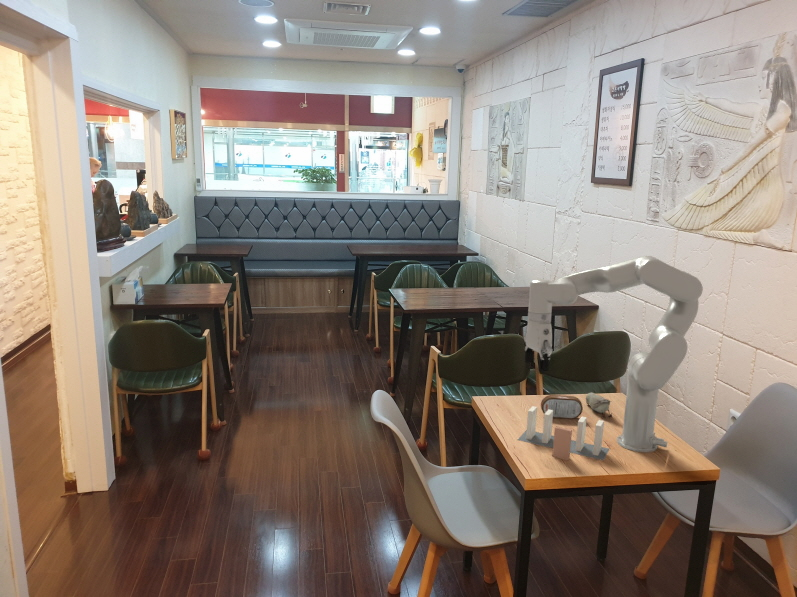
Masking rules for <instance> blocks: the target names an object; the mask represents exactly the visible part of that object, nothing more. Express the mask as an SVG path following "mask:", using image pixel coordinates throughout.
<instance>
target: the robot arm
mask: <svg viewBox="0 0 797 597" xmlns="http://www.w3.org/2000/svg"><path fill="white" fill-rule="evenodd" d="M641 285H645V286H647V287H649V288H651V289H653V290H655V291H657V292H659V293H661V294H663V295H666V296H668V297H669V303H668V306H667V308H666V310H665V312H664V314H663V315H662V317H661V318H660V320H659V321H658V322H657V324H656V325H655V327H654V329H653V330H652V331H651V332H650V334H649V337H648V345H649V347H650V348H651V350H650V351H649V352H648V351H647V352H645V351H643V352H642V351H641V352H638V353H635V354H634V355H632V357H631V358H630V359H629V362H628V364H627V384H626V385H627V386H626V396H625V404H624V405H625V406H624V416H623V417H624V418H623V428H622V434H620V435H618V436H617V437H616V443H617V444H618V445H619V446H620V447H621V448H624V449H626V450H629V451H633V452H638V453H652V452H655V451H656V450H657V449H658V446H660V447H661V448H662V447H663V448H665V449H666V448H668V441H666V440H665V438H661V437H658V436H656V432H655V431H654V430H655V425H656V424H655V423H656V417H657V416H656V415H657V406H658V399H659V390H661V389H662V388H664V387H665V386H666V385H667V383H669V381H670V380H671V378H672V377H673V376H674V374H675V372H676V371H677V370H678V368H679V367H680V366H681V364H682V362H683V361H684V359H685V358H686V355H687V352H688V343H687V340H686V337H685V335H686V334H687V333H688V331H689V330H690V328H691V326H692V324H693V323H694V321H695V319H696V317H697V315H698V311H699V299H700V297H701V296H702V294H703V291H704V290H703V289H704V287H703V283H702V282H701V281H700V279H698V277H696V276H694V275H693V274H691V273H689V272H686V271H684V270H681V269H678V268H676V267H674V266H671V265H670V264H668V263H666V262H664V261H663V260H661V259H659V258H656V257H653V256H652V255H644V256H639V257H636V258H632V259H628V260H626V261H621V262H619V263H615V264H611V265H607V266H605V267H599V268H595V269H590V270H589V269H588V270H584V271H581V272H578V273H573V274H570V275H566V276H563V277H560V278H558V279H556V280H555V281H554V282H553V281H551V280H549V279H544V278H543V279H541V278H538V279H533V280H531V282H530V283H529V293H528V294H529V297H528V310H527V312H528V313H527V325H526V333H525V335H524V337H523V341H524V344H523V345H524V351H525V353H524V362H525V364H528V363H529V364H530V363H534V361H535V352H536V353H538V354H539V356H540V359H539V360H538V361H539V362H538V371H539V372H548V371H549V366H550V364H549V363H550V360H551V357H552V353H553V350H554V349H553V347H552V346H553V329H552V309H553V304H558V305H562V306H569V305H572V304H574V303H575V302H576V301H578V300H577V299H578V297H579V296H581V295H584V294H590V293H616V292H619V291H623V290H626V289H629V288H633V287H638V286H641Z"/></svg>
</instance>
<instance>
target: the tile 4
mask: <svg viewBox="0 0 797 597" xmlns="http://www.w3.org/2000/svg"><path fill="white" fill-rule="evenodd" d="M587 420H588V419H587V416H581V417H580V418H579V419H578V421H577V430H576V439H575V441H576V451H580V452H581V450H582V448H583V447H584V443H585V440H586V429H587V428H586V427H587Z"/></svg>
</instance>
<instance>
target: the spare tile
mask: <svg viewBox="0 0 797 597" xmlns="http://www.w3.org/2000/svg"><path fill="white" fill-rule="evenodd" d="M553 432H554V433H553V436H554V444H553V448H552V457H553V458H557V459H562V460H567V461H570V458H571V456H570V455H571V453H570V448H571V440H572V436H573V429H571V428H567V427H563V426H556V425H555V426H554V431H553Z"/></svg>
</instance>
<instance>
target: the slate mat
mask: <svg viewBox="0 0 797 597" xmlns="http://www.w3.org/2000/svg"><path fill="white" fill-rule="evenodd" d="M526 433H527V429H525V431H524V432H523V433H522V434H521V435H520V436H519V437H518V439H517V441H521V442H525V443H529V444H534V445H537V446H542V447H546V448H548V449H553V444H554V435H552V434H551V439H550V440H549V441H548V443H547V444H546V443H542V437H543V432H539V431H535V435H534V437H533V438H532V439H531V440H530V439H526ZM593 448H594V444H591V443H586V442H584V447H583V448H582V450H581V452H580V451H576V440H573V439H571V448H570V454H575V455H579V456H583V457H588V458H592V459H595V460H600V461H605V459H606V457H607V454H608V453H609V451H610V448H608V447H604V446H602V447H601V451H600V453H599V455H598V456H597V455H593Z"/></svg>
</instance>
